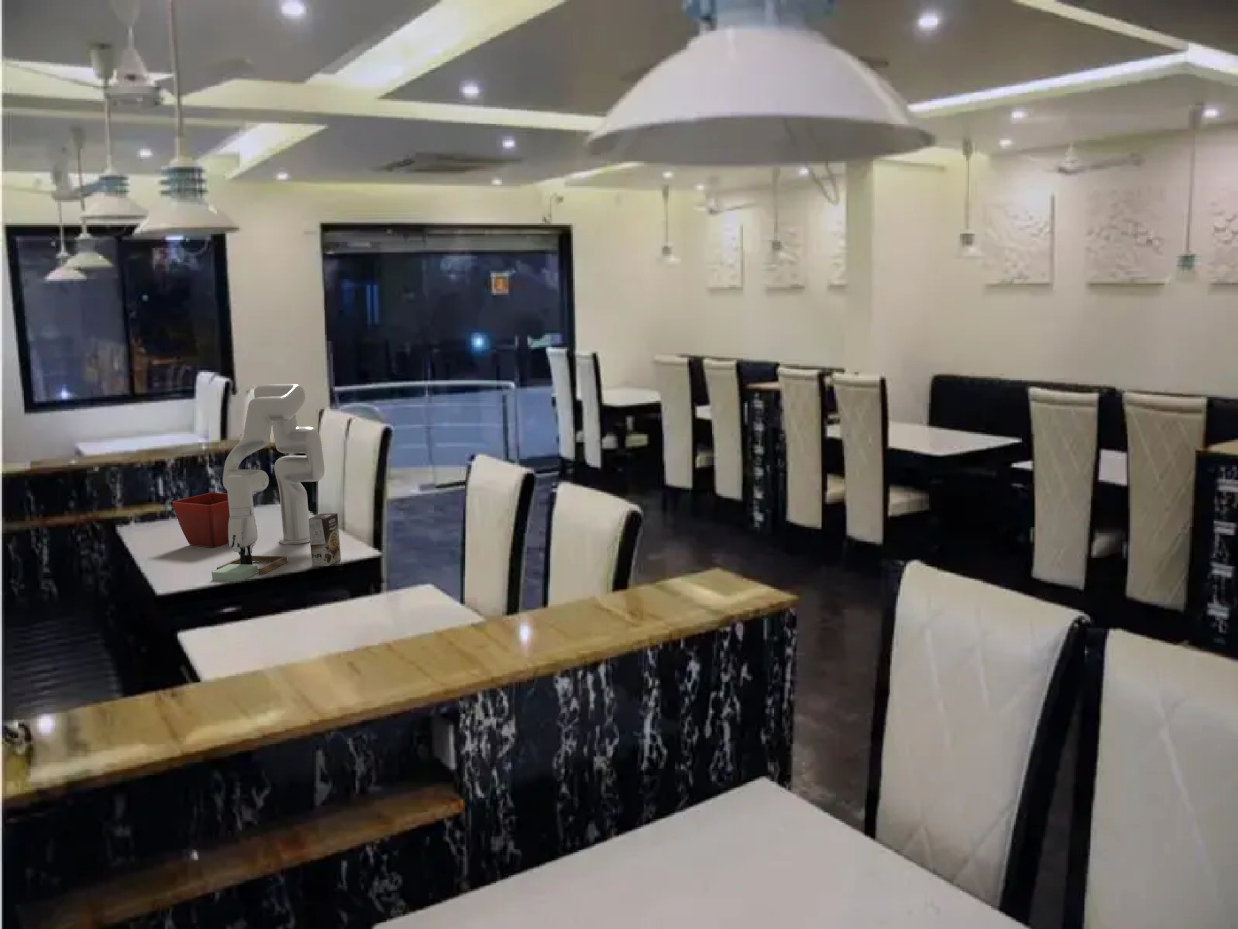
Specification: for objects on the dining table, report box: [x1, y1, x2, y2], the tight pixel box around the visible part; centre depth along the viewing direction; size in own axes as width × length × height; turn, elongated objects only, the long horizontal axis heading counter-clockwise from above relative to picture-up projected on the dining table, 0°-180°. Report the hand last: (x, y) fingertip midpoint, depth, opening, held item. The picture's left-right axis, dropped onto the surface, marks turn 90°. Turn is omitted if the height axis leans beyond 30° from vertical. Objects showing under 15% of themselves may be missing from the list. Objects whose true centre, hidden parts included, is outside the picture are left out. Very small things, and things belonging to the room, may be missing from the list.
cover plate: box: [211, 564, 259, 582], centre depth 324 cm, size 10×10×3 cm
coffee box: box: [309, 512, 342, 567], centre depth 336 cm, size 9×6×16 cm
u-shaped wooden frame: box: [216, 554, 288, 576], centre depth 333 cm, size 16×16×2 cm
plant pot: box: [171, 492, 230, 548], centre depth 369 cm, size 19×19×17 cm
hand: (246, 566), depth 330 cm, fingers closed
